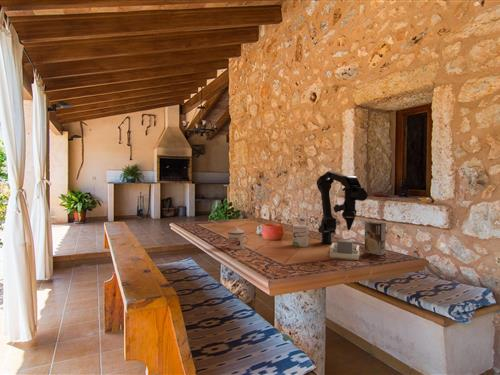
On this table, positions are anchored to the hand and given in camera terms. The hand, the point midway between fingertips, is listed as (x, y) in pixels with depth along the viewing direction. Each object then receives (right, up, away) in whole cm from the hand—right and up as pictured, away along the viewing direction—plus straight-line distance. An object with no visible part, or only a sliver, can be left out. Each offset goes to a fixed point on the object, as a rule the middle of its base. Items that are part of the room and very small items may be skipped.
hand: (349, 228), depth 171 cm
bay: (-2, -12, 0) cm, 12 cm away
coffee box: (+12, -13, -4) cm, 18 cm away
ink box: (-25, -12, +12) cm, 30 cm away
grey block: (-6, -12, -12) cm, 18 cm away
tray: (-6, -12, -12) cm, 18 cm away
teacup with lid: (-60, -11, +4) cm, 61 cm away
